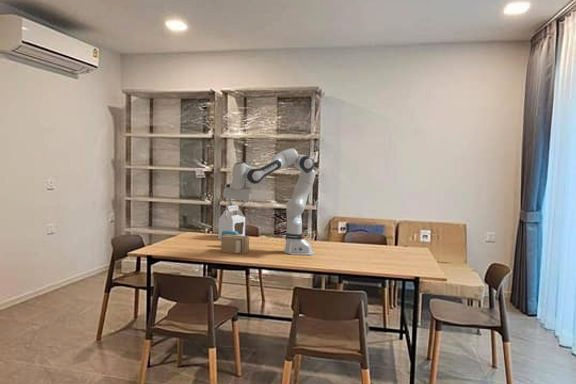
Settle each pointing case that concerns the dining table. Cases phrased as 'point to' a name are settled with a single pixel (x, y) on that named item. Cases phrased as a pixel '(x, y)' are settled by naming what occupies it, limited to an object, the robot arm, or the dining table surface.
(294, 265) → the dining table surface
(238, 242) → the flap
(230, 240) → the carton
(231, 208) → the gable box
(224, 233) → the data package
